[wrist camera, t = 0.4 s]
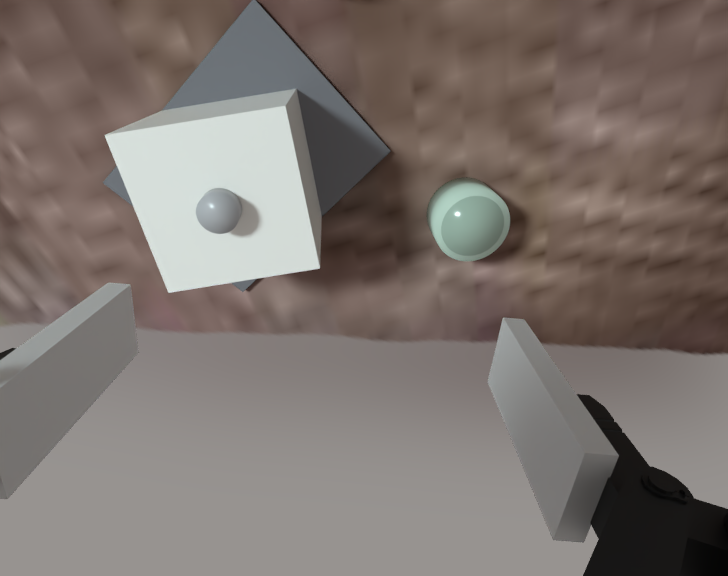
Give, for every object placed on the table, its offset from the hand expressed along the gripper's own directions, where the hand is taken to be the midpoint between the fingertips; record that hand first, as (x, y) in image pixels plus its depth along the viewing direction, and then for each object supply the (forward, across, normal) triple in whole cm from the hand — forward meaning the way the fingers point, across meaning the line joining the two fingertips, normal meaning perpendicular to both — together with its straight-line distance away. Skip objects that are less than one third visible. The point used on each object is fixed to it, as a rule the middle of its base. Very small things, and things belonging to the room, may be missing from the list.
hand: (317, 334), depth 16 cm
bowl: (+25, +10, 0) cm, 27 cm away
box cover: (+22, -8, +2) cm, 24 cm away
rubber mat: (+23, -8, +2) cm, 24 cm away
